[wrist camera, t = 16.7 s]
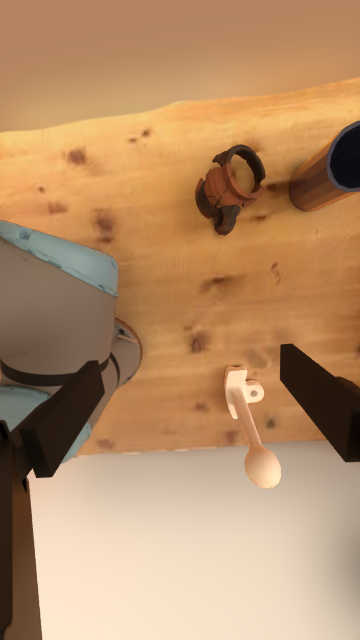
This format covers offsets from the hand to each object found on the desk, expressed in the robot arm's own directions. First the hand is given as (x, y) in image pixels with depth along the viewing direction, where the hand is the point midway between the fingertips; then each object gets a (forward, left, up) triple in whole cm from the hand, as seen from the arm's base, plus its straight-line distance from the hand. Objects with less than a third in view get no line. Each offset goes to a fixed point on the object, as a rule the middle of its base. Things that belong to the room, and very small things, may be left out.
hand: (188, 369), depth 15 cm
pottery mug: (+7, +17, -27) cm, 32 cm away
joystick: (+10, -19, -26) cm, 34 cm away
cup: (+21, +18, -26) cm, 38 cm away
